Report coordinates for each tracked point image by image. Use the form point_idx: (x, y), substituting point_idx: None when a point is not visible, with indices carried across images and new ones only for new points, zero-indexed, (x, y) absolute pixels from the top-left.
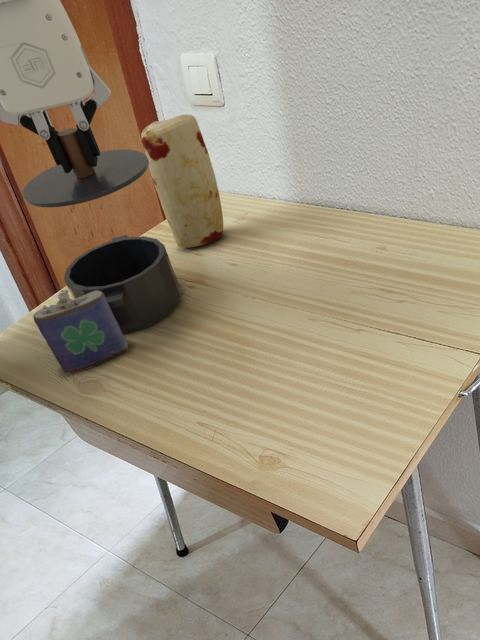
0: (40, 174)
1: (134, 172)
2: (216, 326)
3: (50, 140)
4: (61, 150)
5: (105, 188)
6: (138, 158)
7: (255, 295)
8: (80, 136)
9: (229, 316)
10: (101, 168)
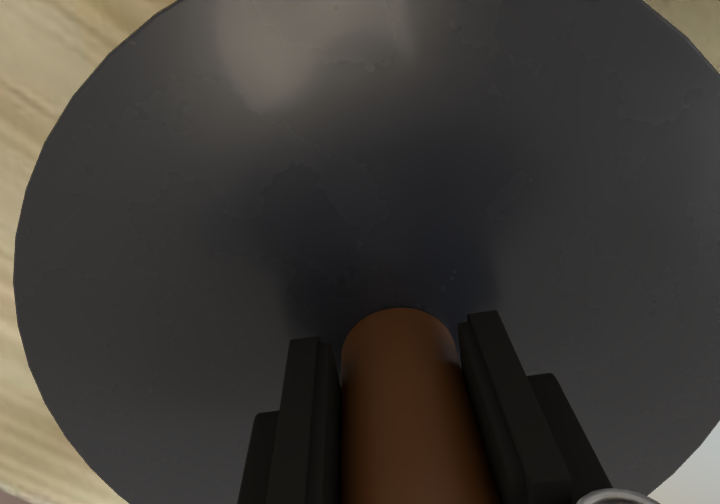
0: (674, 458)
1: (52, 251)
2: (143, 4)
3: (567, 470)
4: (489, 413)
5: (180, 61)
6: (114, 438)
7: None
8: (294, 486)
9: (115, 47)
10: None
